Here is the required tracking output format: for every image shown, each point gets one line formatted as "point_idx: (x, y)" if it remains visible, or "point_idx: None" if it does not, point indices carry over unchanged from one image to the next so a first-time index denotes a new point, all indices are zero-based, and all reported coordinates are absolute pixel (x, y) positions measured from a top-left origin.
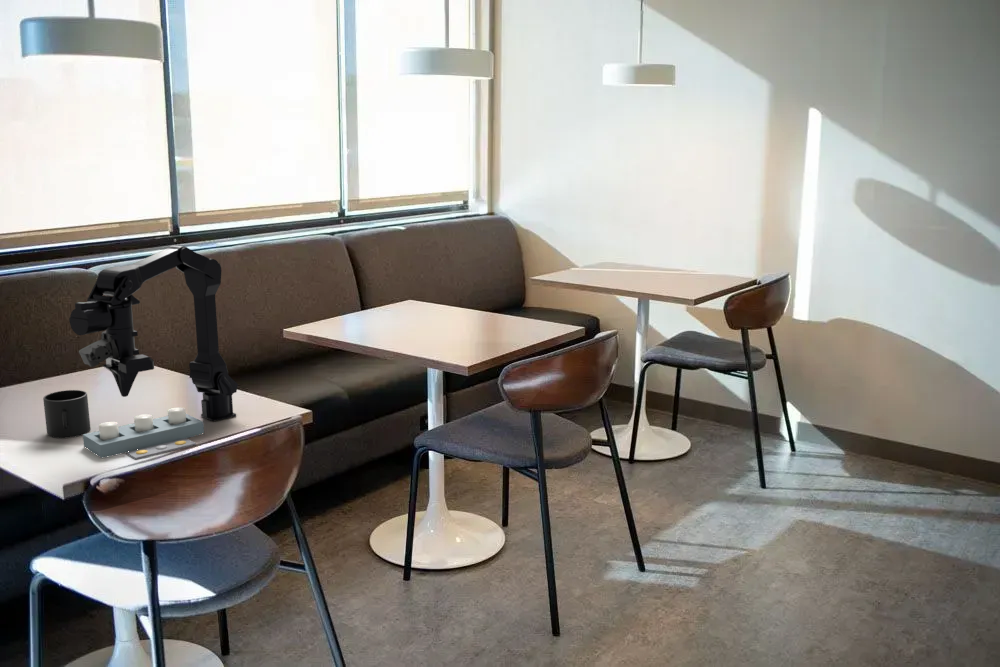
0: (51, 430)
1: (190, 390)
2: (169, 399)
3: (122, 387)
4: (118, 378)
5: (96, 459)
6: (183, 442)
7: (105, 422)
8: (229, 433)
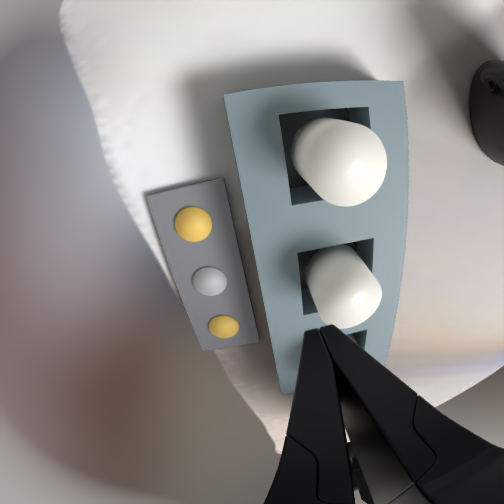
0: (500, 62)
1: (497, 355)
2: (498, 329)
3: (295, 401)
4: (339, 476)
5: (222, 79)
6: (219, 332)
7: (386, 164)
8: (247, 399)
